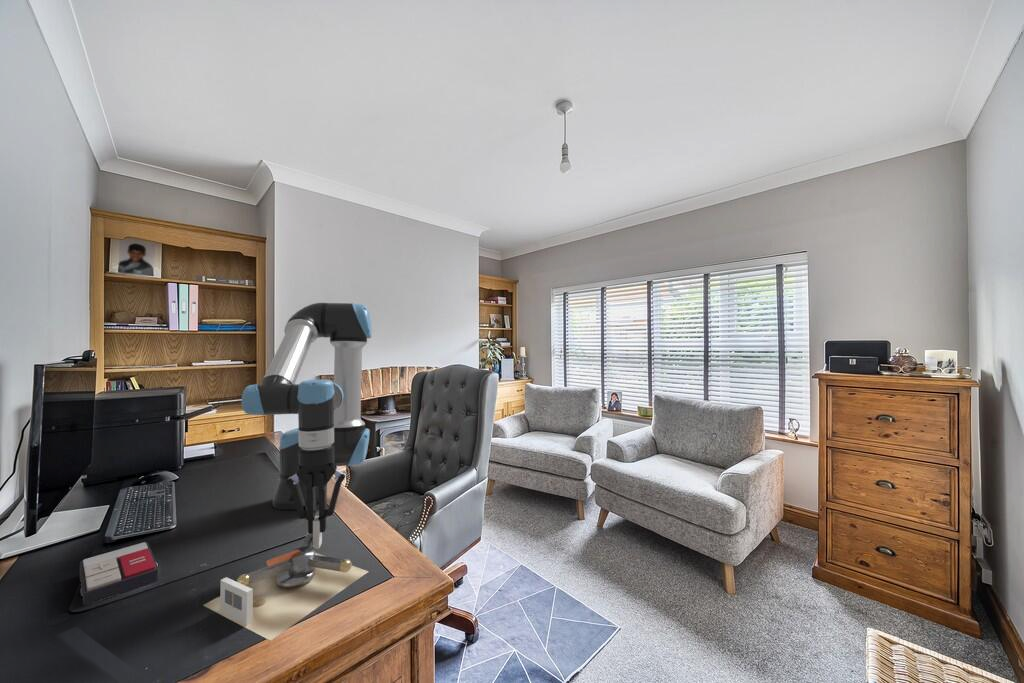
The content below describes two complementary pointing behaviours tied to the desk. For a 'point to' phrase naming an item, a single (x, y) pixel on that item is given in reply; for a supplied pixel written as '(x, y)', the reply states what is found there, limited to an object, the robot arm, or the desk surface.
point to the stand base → (291, 600)
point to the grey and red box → (117, 572)
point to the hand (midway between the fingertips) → (317, 545)
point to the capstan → (295, 567)
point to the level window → (236, 601)
